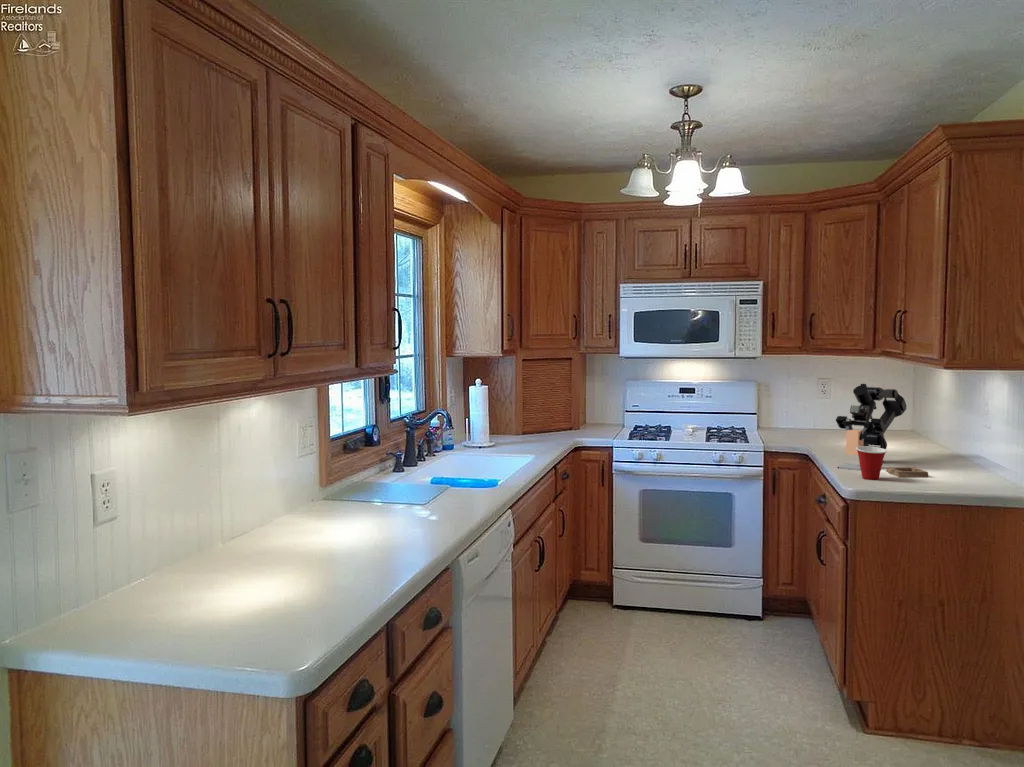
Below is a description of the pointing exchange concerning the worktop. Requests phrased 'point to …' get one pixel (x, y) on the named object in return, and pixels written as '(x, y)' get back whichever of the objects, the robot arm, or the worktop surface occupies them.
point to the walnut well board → (907, 472)
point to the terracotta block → (853, 441)
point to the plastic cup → (870, 461)
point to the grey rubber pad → (850, 466)
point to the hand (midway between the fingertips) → (853, 439)
